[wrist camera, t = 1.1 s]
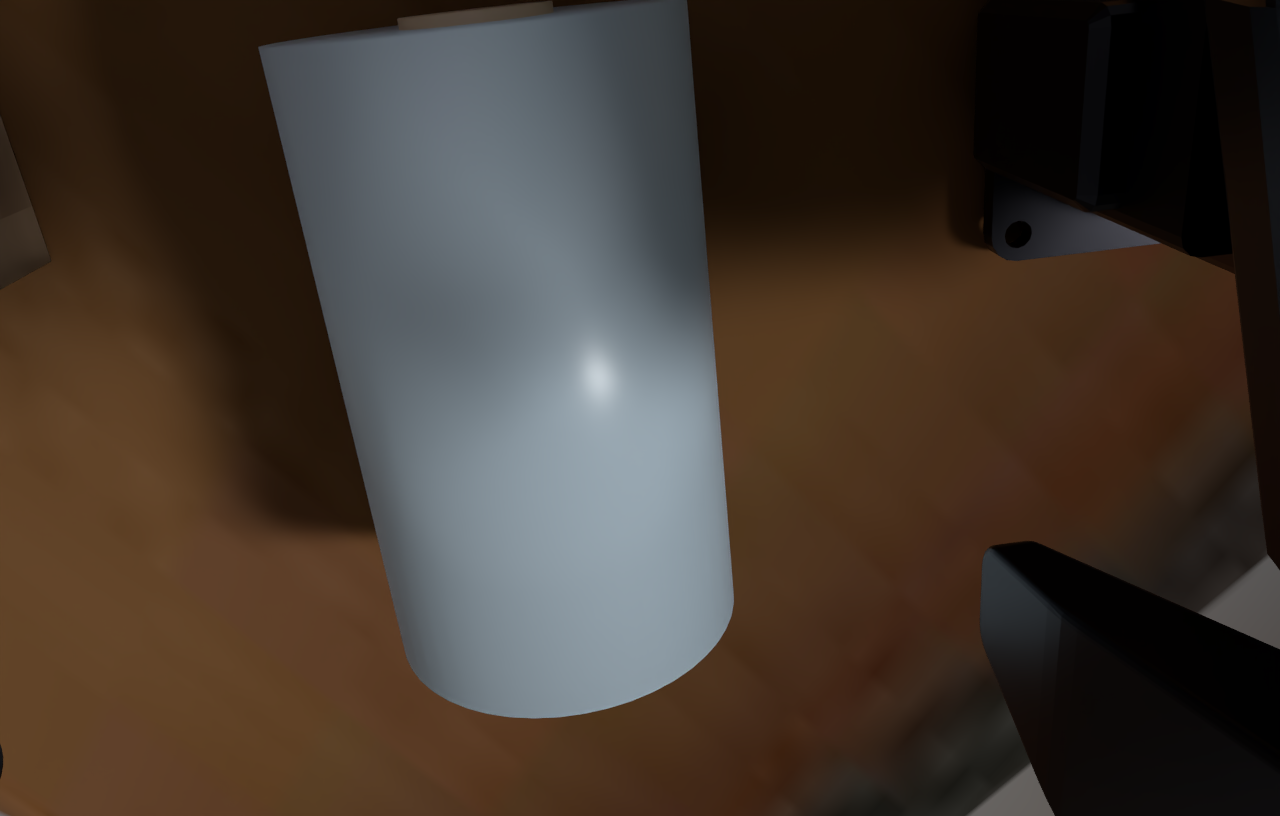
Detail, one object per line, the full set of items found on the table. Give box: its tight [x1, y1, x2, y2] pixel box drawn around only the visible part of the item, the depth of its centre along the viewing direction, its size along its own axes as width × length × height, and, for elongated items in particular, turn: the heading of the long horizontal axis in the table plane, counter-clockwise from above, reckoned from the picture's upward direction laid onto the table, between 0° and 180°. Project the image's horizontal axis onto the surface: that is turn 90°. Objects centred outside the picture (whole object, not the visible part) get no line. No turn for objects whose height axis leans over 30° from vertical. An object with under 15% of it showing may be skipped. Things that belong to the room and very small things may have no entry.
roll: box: [258, 0, 734, 718], centre depth 16 cm, size 10×6×6 cm, turn 6°
